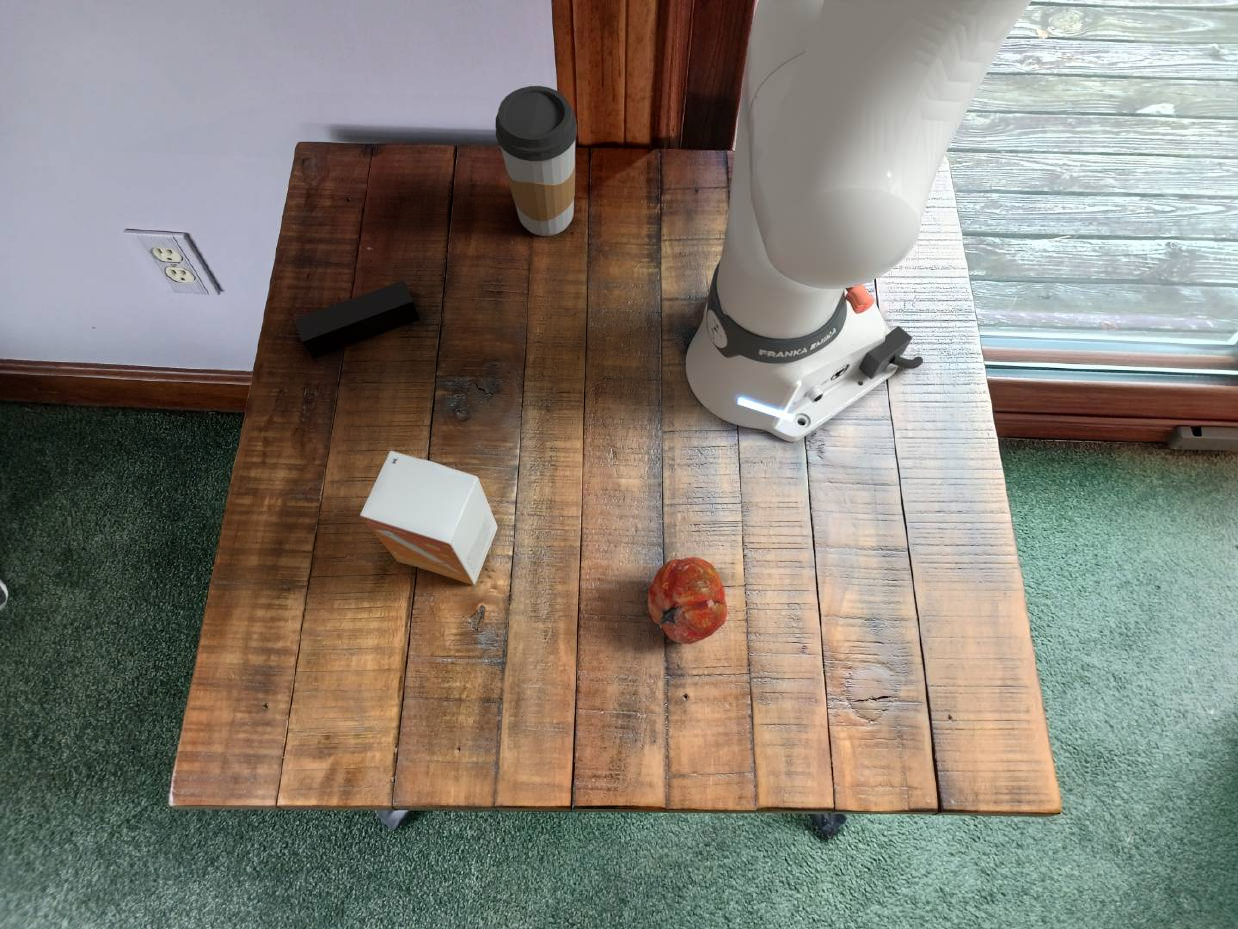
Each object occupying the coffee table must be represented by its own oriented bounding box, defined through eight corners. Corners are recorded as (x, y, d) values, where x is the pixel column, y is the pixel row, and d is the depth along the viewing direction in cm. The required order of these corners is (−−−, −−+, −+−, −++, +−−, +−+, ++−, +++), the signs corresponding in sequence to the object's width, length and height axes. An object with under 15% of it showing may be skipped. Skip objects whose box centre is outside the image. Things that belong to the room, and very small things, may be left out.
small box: (396, 563, 77) (356, 515, 65) (423, 503, 79) (388, 447, 67) (476, 588, 76) (449, 544, 64) (500, 527, 78) (479, 474, 66)
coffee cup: (586, 191, 95) (581, 84, 81) (577, 247, 92) (571, 146, 78) (516, 185, 95) (499, 78, 82) (505, 241, 92) (485, 140, 78)
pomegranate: (676, 566, 79) (608, 595, 72) (725, 530, 74) (659, 558, 67) (715, 633, 77) (651, 670, 70) (768, 600, 73) (705, 637, 65)
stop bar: (411, 299, 89) (403, 279, 86) (420, 319, 88) (413, 300, 85) (305, 337, 87) (293, 319, 84) (313, 359, 86) (301, 341, 82)
